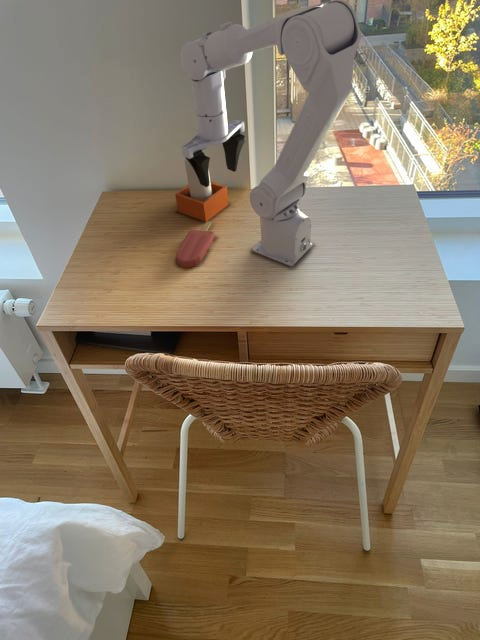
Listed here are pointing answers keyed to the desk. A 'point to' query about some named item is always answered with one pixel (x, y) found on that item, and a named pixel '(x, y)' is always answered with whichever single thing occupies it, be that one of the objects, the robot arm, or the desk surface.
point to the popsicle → (195, 246)
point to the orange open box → (199, 208)
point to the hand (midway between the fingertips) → (218, 177)
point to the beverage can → (197, 184)
